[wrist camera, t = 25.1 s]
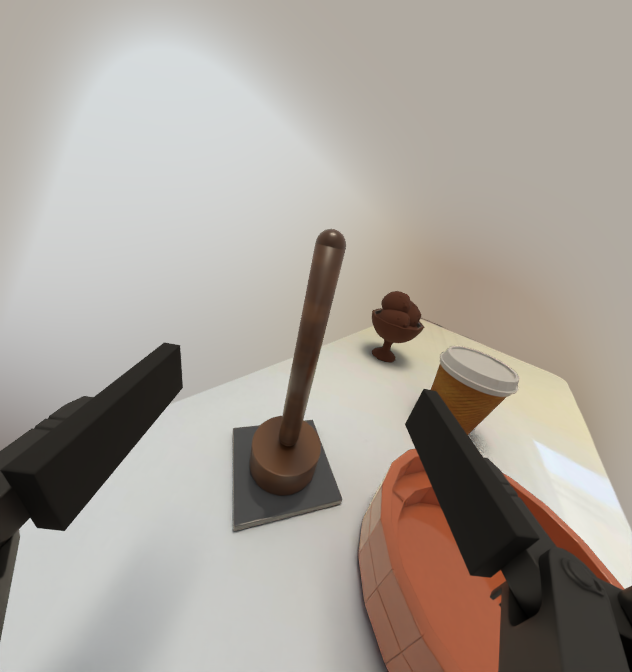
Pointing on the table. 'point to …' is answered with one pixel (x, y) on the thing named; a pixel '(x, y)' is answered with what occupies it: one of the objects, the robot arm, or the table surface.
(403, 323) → the ice cream bowl
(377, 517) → the terracotta round bowl
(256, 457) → the paper towel holder
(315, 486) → the dark grey square tile
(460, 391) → the disposable coffee cup
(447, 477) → the robot arm
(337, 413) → the table surface
